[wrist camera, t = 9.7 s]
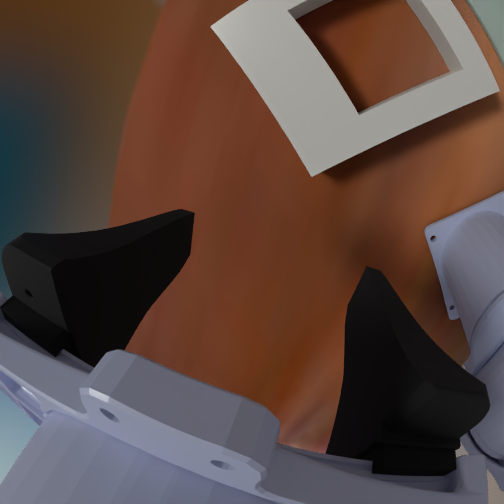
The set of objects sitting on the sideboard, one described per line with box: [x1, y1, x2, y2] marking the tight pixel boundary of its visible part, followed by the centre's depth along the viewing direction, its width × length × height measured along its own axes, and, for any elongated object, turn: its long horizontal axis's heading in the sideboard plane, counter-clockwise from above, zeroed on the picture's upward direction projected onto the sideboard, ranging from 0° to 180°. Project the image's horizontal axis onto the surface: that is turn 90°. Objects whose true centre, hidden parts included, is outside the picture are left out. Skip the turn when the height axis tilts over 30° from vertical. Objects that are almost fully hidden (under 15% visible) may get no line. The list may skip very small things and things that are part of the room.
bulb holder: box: [211, 0, 500, 177], centre depth 14 cm, size 12×14×2 cm
